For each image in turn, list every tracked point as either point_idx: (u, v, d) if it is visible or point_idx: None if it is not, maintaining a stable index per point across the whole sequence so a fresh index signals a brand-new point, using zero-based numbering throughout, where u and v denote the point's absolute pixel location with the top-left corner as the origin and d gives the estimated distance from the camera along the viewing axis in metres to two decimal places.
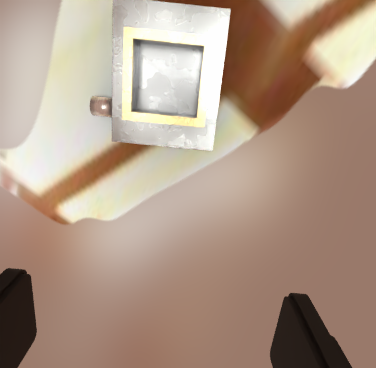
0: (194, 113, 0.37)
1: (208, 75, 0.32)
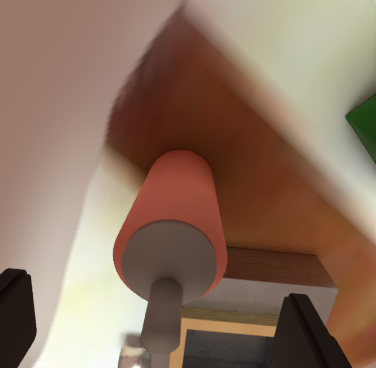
0: (260, 361, 0.27)
1: None
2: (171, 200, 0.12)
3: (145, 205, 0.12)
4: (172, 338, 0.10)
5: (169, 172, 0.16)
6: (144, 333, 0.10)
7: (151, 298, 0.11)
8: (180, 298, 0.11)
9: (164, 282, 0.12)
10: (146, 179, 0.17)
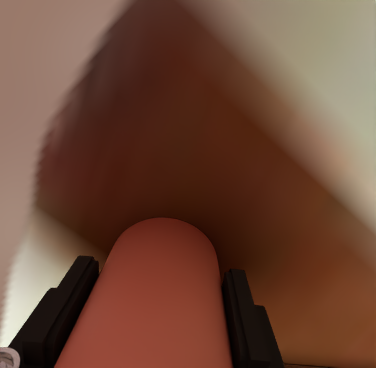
0: None
1: None
2: None
3: None
4: None
5: (127, 308, 0.07)
6: None
7: None
8: None
9: None
10: (87, 303, 0.09)
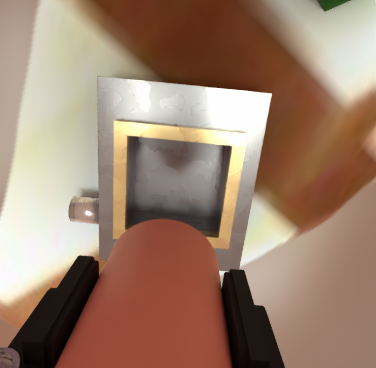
0: (212, 214, 0.27)
1: (237, 184, 0.22)
2: None
3: None
4: None
5: (127, 310, 0.07)
6: None
7: None
8: None
9: None
10: (87, 305, 0.08)
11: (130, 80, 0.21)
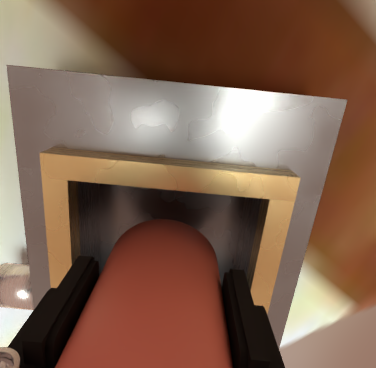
0: None
1: (274, 265, 0.12)
2: None
3: None
4: None
5: (127, 311, 0.07)
6: None
7: None
8: None
9: None
10: (87, 305, 0.09)
11: (72, 73, 0.10)
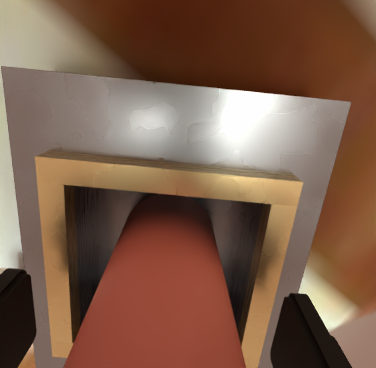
0: None
1: (276, 271, 0.12)
2: (151, 338, 0.06)
3: (100, 346, 0.06)
4: None
5: (150, 244, 0.10)
6: None
7: None
8: None
9: None
10: (116, 249, 0.11)
11: (68, 75, 0.10)
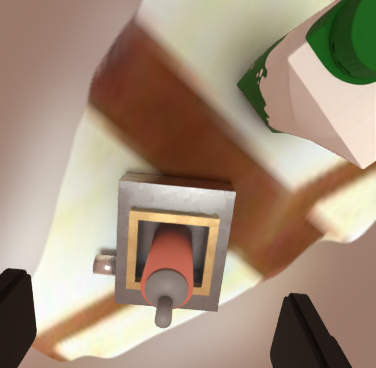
0: (198, 267, 0.37)
1: (213, 251, 0.32)
2: (167, 259, 0.26)
3: (155, 261, 0.26)
4: (168, 320, 0.23)
5: (166, 239, 0.30)
6: (156, 318, 0.23)
7: (158, 304, 0.25)
8: (171, 304, 0.25)
9: (164, 297, 0.25)
10: (153, 242, 0.31)
11: (141, 183, 0.31)
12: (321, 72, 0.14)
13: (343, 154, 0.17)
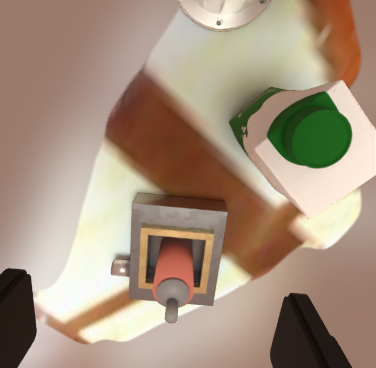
0: (197, 269, 0.44)
1: (209, 259, 0.39)
2: (172, 270, 0.33)
3: (163, 271, 0.34)
4: (174, 317, 0.31)
5: (171, 251, 0.37)
6: (166, 316, 0.31)
7: (167, 305, 0.32)
8: (177, 305, 0.33)
9: (171, 299, 0.33)
10: (161, 253, 0.39)
11: (150, 205, 0.37)
12: (278, 157, 0.21)
13: (297, 207, 0.23)
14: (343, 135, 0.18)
